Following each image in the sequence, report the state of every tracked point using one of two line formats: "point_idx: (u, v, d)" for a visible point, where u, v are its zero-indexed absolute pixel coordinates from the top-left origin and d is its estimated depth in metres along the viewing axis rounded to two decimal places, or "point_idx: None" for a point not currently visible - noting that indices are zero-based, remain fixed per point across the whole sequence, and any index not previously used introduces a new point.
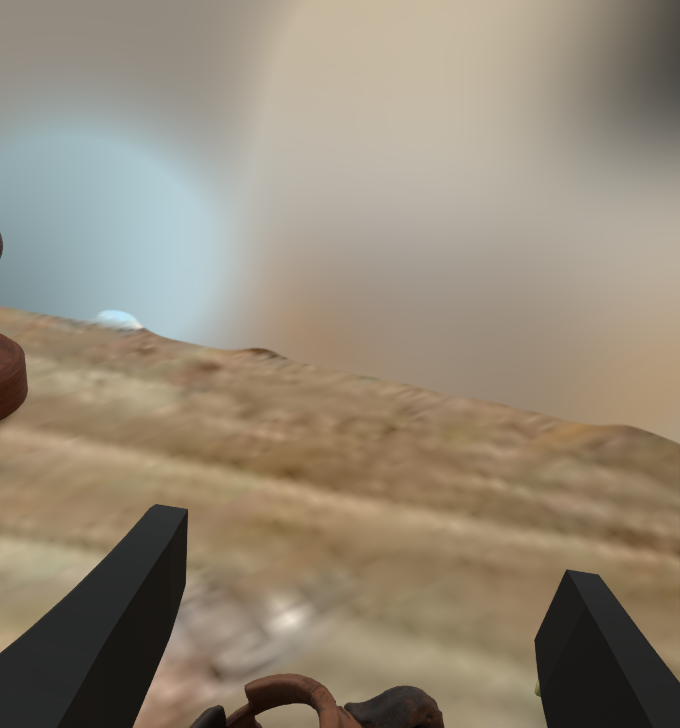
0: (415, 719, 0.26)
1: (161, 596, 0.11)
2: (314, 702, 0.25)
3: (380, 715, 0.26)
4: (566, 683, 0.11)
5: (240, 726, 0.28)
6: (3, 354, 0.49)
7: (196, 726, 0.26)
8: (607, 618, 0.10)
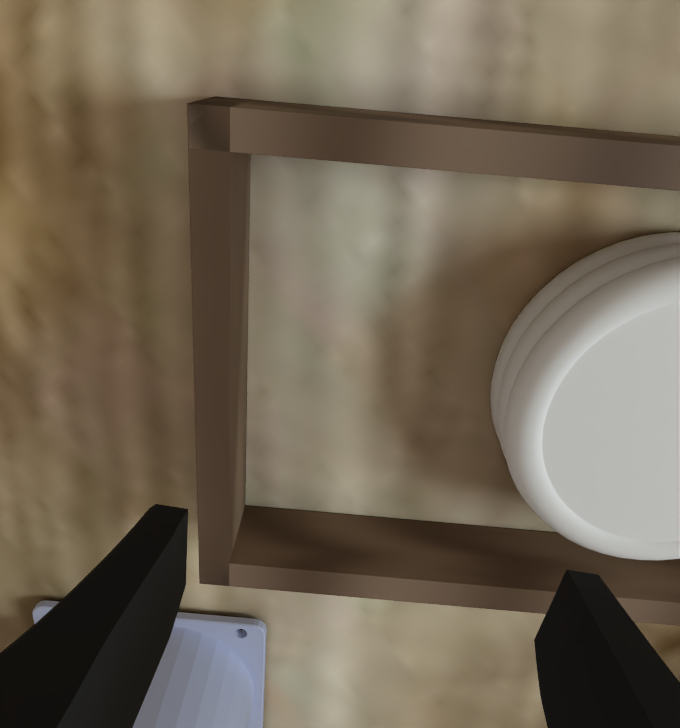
0: None
1: (161, 595, 0.11)
2: None
3: None
4: (565, 683, 0.11)
5: None
6: None
7: None
8: (607, 618, 0.10)
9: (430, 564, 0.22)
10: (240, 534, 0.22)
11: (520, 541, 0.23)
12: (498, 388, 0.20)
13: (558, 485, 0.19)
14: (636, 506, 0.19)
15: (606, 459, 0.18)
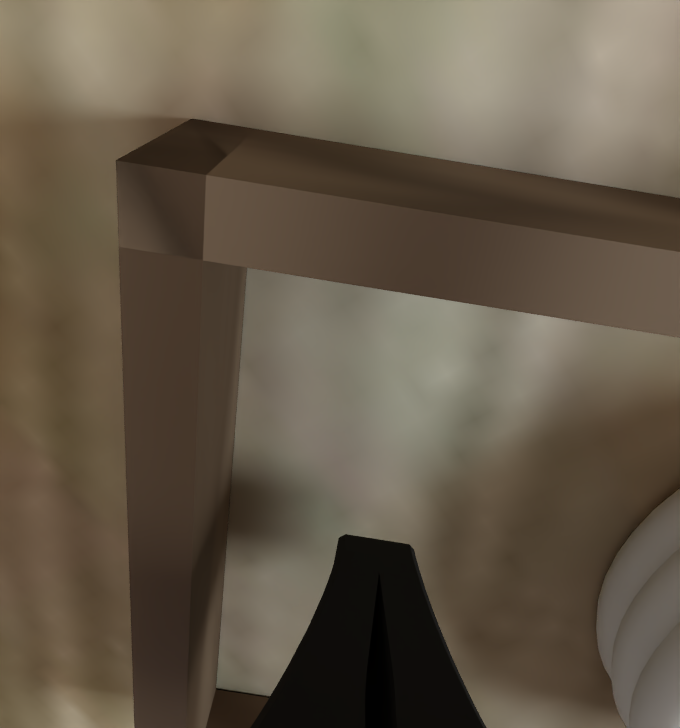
0: None
1: None
2: None
3: None
4: None
5: None
6: None
7: None
8: (395, 584, 0.10)
9: None
10: None
11: None
12: (618, 603, 0.13)
13: None
14: None
15: None
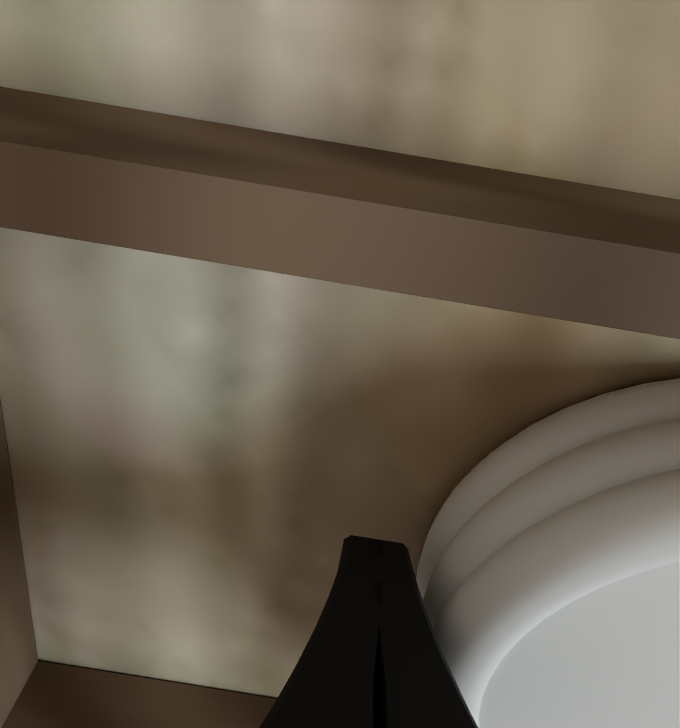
0: None
1: None
2: None
3: None
4: None
5: None
6: None
7: None
8: (388, 583, 0.10)
9: None
10: (10, 720, 0.15)
11: None
12: (426, 582, 0.13)
13: None
14: None
15: None
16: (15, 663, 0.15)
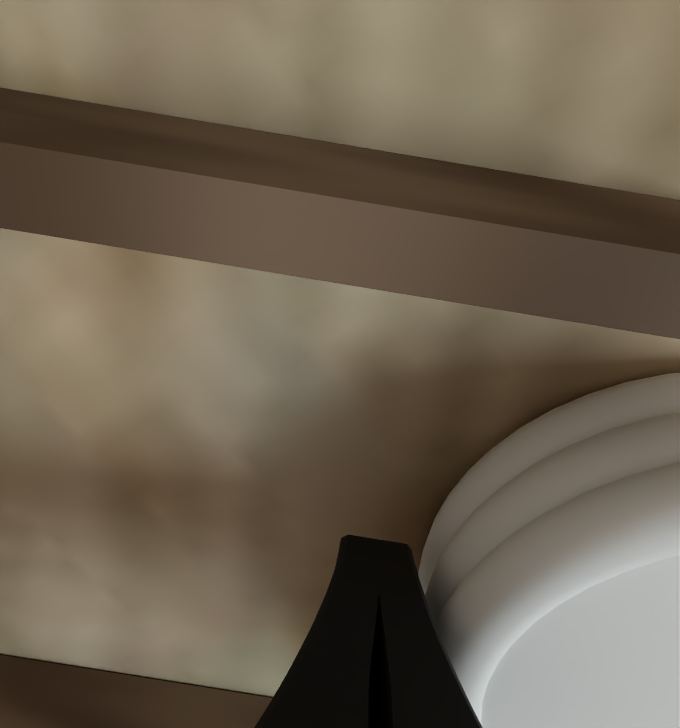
0: None
1: None
2: None
3: None
4: None
5: None
6: None
7: None
8: (392, 584, 0.10)
9: None
10: None
11: (148, 703, 0.16)
12: (426, 589, 0.13)
13: None
14: None
15: None
16: None
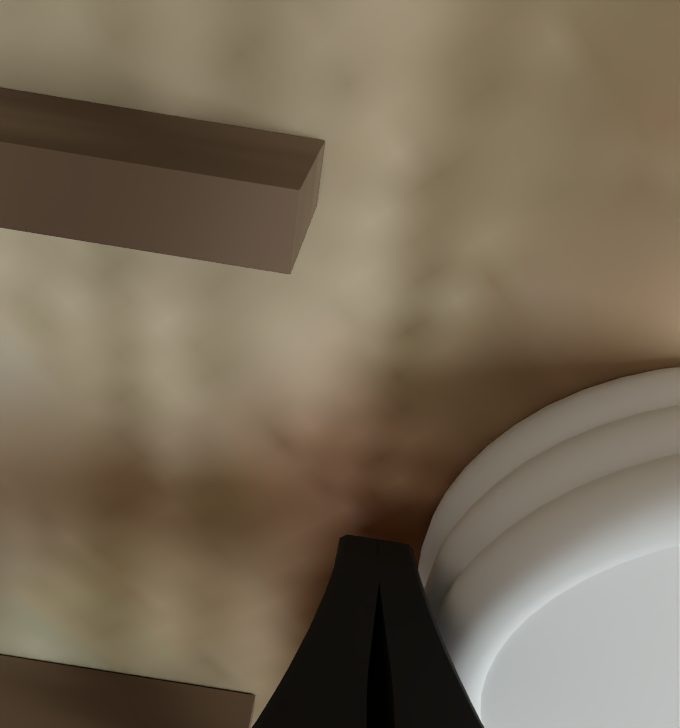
0: None
1: None
2: None
3: None
4: None
5: None
6: None
7: None
8: (394, 584, 0.10)
9: None
10: None
11: None
12: (426, 585, 0.13)
13: None
14: None
15: None
16: None
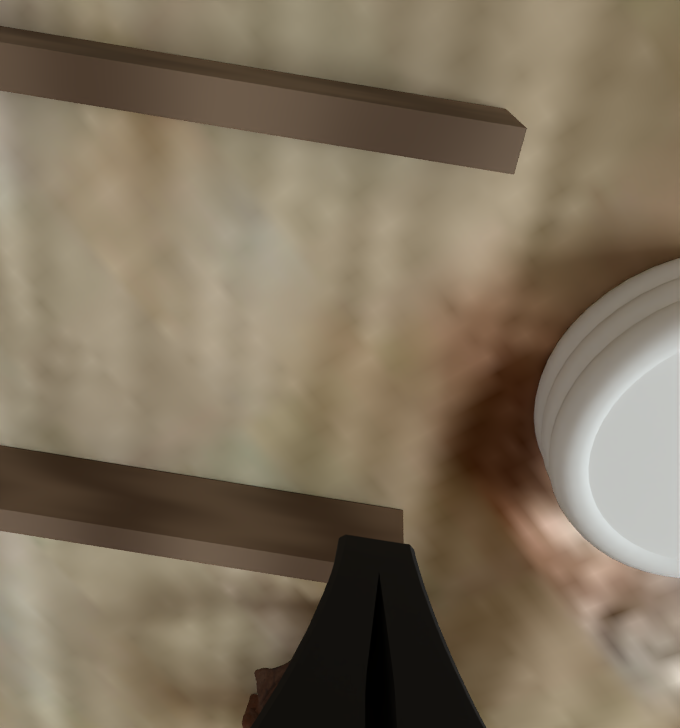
0: None
1: None
2: None
3: None
4: None
5: None
6: None
7: None
8: (395, 584, 0.10)
9: (43, 498, 0.21)
10: None
11: (158, 483, 0.23)
12: (543, 405, 0.20)
13: (603, 507, 0.19)
14: None
15: (655, 483, 0.18)
16: None
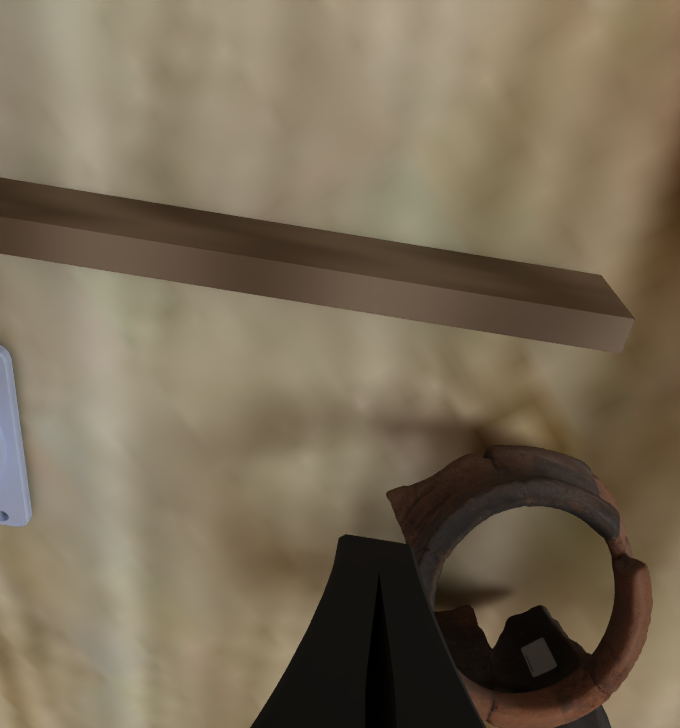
0: None
1: None
2: (582, 691, 0.18)
3: (566, 726, 0.20)
4: None
5: None
6: None
7: (589, 510, 0.18)
8: (395, 584, 0.10)
9: (162, 231, 0.17)
10: None
11: (299, 233, 0.18)
12: None
13: None
14: None
15: None
16: None
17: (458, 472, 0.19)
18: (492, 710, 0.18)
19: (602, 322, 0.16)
